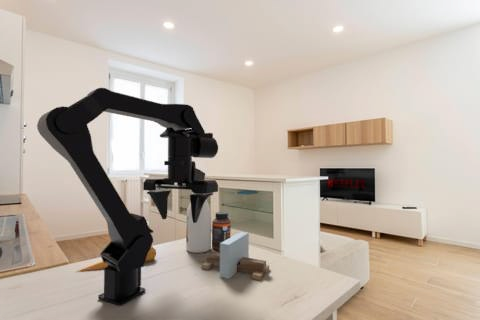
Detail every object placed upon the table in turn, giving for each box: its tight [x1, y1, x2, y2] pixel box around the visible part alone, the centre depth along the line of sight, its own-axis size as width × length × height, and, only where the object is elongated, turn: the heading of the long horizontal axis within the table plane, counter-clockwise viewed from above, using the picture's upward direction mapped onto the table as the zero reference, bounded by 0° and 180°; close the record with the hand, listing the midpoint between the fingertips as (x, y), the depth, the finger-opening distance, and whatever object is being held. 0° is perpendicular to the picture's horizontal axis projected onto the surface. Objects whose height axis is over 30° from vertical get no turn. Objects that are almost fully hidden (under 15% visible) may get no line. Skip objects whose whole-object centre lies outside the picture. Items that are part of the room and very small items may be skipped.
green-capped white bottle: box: [185, 191, 212, 254], centre depth 82 cm, size 8×8×20 cm
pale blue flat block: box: [219, 231, 250, 280], centre depth 67 cm, size 12×2×8 cm, turn 155°
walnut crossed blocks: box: [201, 251, 270, 281], centre depth 66 cm, size 7×16×3 cm, turn 65°
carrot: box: [75, 245, 157, 273], centre depth 69 cm, size 20×4×4 cm, turn 119°
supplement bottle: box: [211, 211, 232, 251], centre depth 83 cm, size 6×6×11 cm
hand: (179, 220), depth 63 cm, fingers open, 9 cm apart
